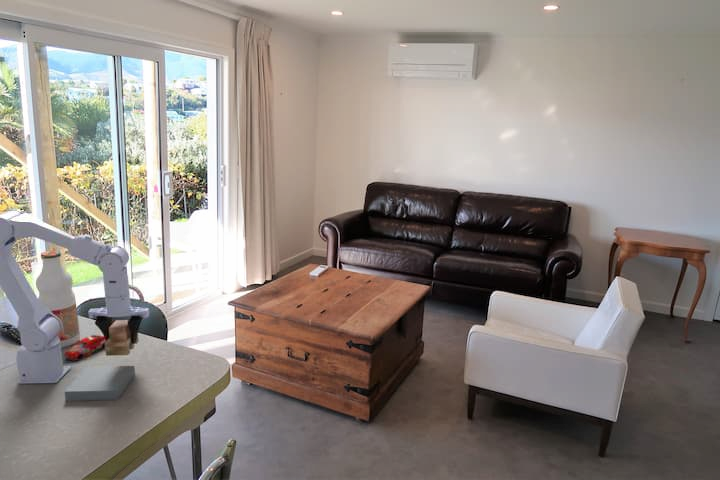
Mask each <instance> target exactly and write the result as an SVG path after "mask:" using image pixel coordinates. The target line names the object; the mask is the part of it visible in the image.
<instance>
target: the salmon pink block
mask: <svg viewBox="0 0 720 480" xmlns="http://www.w3.org/2000/svg"><path fill="white" fill-rule="evenodd" d="M128 320H129V319H116V320H115V321H114V322H113V323H112V325H111V326H110V327H109V335H110V340H127V339H128V337H129V336H130V329H129V326H128V323H127V321H128Z"/></svg>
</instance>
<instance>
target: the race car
mask: <svg viewBox="0 0 720 480" xmlns="http://www.w3.org/2000/svg"><path fill="white" fill-rule="evenodd" d="M105 342H106V339H105V337H104V335H103V333H100V334H93V335H89V336H86V337H84V338H82V339H80V340H79V341H78V342H76V343H75V344H74V345H72V346H71V347H69V348H68V349H67V350H65V352H64V359H65V360H67V361H81V360H82V359H84V358H85V357H88V356H90V355H92V354H94V353H97V352H99V351H101V350H103V349H105Z"/></svg>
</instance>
